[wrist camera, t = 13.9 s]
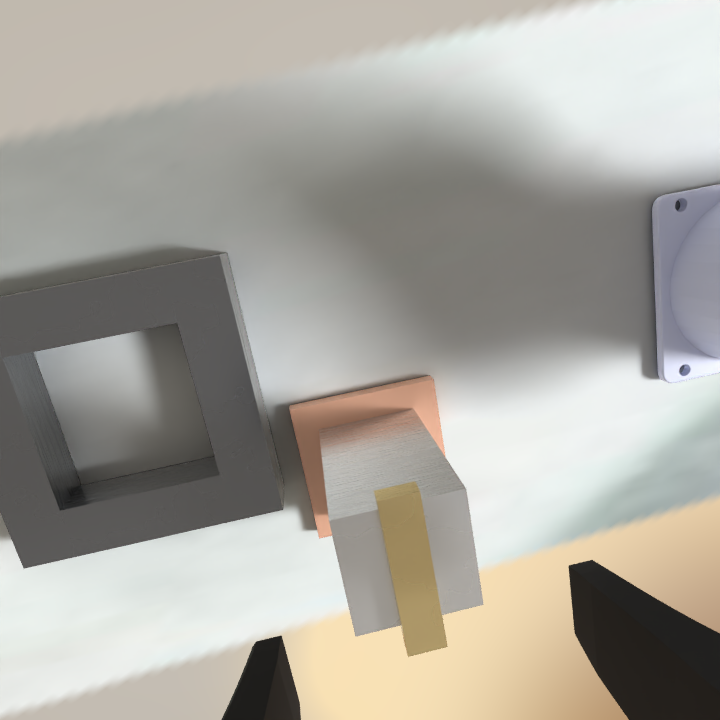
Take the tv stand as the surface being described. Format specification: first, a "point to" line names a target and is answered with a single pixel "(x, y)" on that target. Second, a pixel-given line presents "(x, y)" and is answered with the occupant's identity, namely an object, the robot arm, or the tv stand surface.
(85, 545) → the charcoal socket
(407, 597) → the steel key
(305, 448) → the terracotta pad
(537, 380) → the tv stand surface
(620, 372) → the tv stand surface
